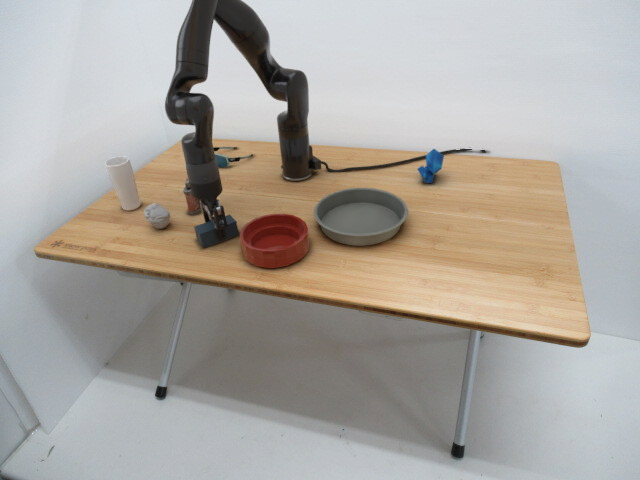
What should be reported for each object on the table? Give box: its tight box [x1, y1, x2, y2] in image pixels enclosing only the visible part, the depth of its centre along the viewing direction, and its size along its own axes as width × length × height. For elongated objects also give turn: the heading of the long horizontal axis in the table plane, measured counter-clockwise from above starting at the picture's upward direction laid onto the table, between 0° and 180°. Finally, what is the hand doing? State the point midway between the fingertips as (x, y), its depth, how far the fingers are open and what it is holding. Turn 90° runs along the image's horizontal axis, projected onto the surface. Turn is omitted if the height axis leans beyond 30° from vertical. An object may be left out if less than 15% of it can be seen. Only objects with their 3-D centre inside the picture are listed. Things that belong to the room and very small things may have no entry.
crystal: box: [417, 148, 445, 184], centre depth 141 cm, size 7×9×12 cm
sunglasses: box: [213, 146, 254, 168], centre depth 164 cm, size 14×15×5 cm
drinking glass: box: [104, 155, 142, 212], centre depth 136 cm, size 7×7×15 cm
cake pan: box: [313, 187, 409, 247], centre depth 123 cm, size 25×25×4 cm
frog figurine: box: [143, 202, 171, 230], centre depth 127 cm, size 6×7×7 cm
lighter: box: [182, 176, 201, 216], centre depth 134 cm, size 8×3×10 cm, turn 168°
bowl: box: [239, 213, 310, 269], centre depth 115 cm, size 17×17×6 cm
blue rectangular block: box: [193, 214, 240, 249], centre depth 122 cm, size 10×4×4 cm, turn 122°
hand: (216, 232), depth 122 cm, fingers open, 8 cm apart
